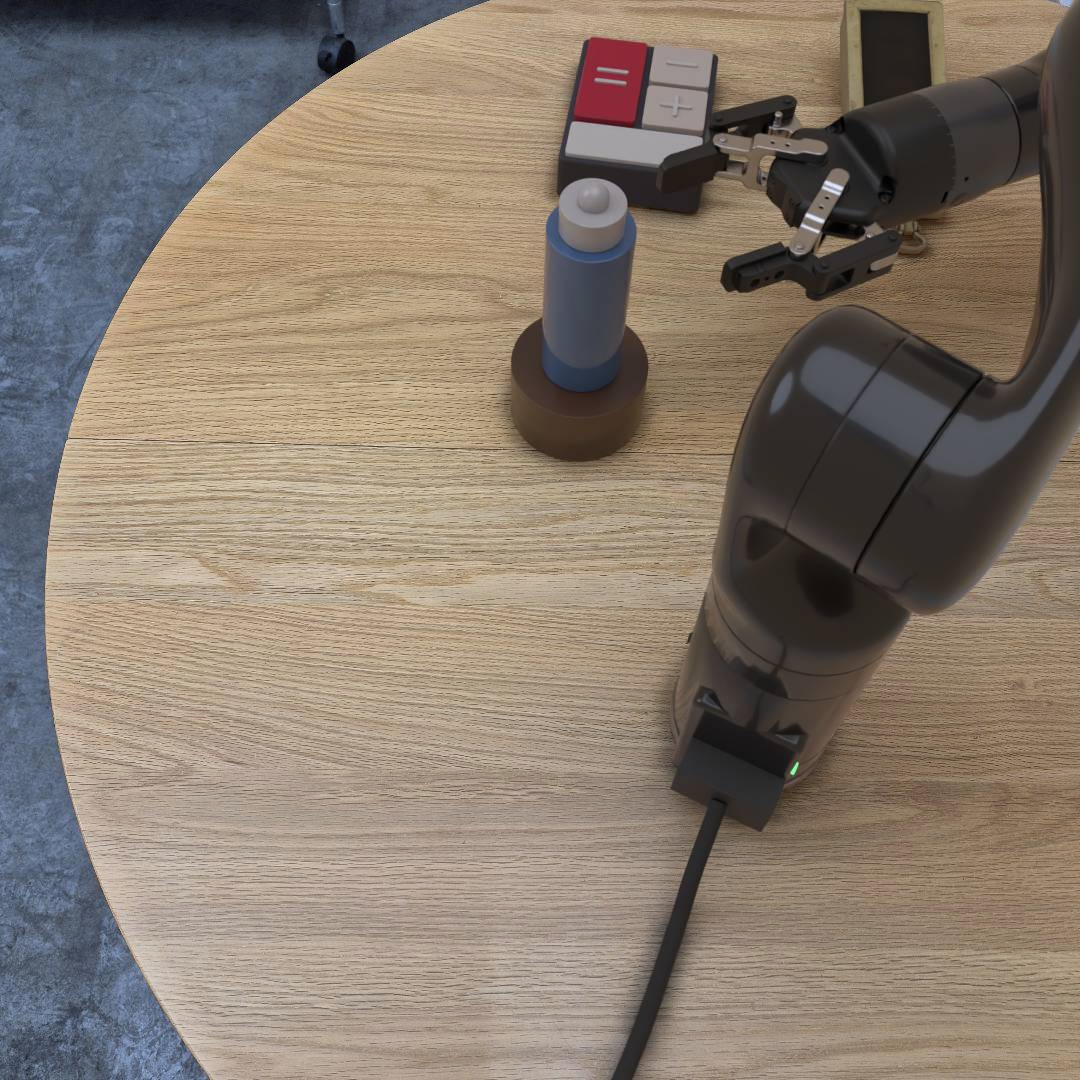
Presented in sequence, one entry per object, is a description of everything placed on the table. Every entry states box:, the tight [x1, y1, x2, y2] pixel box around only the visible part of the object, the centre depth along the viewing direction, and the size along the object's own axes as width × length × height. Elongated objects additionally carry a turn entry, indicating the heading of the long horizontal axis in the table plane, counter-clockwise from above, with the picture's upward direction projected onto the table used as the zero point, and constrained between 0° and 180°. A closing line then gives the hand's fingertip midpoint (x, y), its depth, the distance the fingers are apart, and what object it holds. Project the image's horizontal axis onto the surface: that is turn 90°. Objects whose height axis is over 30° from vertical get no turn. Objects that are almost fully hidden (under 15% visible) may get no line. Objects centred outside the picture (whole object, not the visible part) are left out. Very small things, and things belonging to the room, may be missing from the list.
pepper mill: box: [541, 178, 638, 392], centre depth 72 cm, size 5×5×15 cm
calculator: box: [556, 36, 719, 214], centre depth 94 cm, size 11×4×15 cm
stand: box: [510, 316, 650, 462], centre depth 81 cm, size 9×9×5 cm
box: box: [839, 0, 948, 255], centre depth 94 cm, size 8×22×5 cm, turn 178°
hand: (691, 227), depth 72 cm, fingers open, 8 cm apart
